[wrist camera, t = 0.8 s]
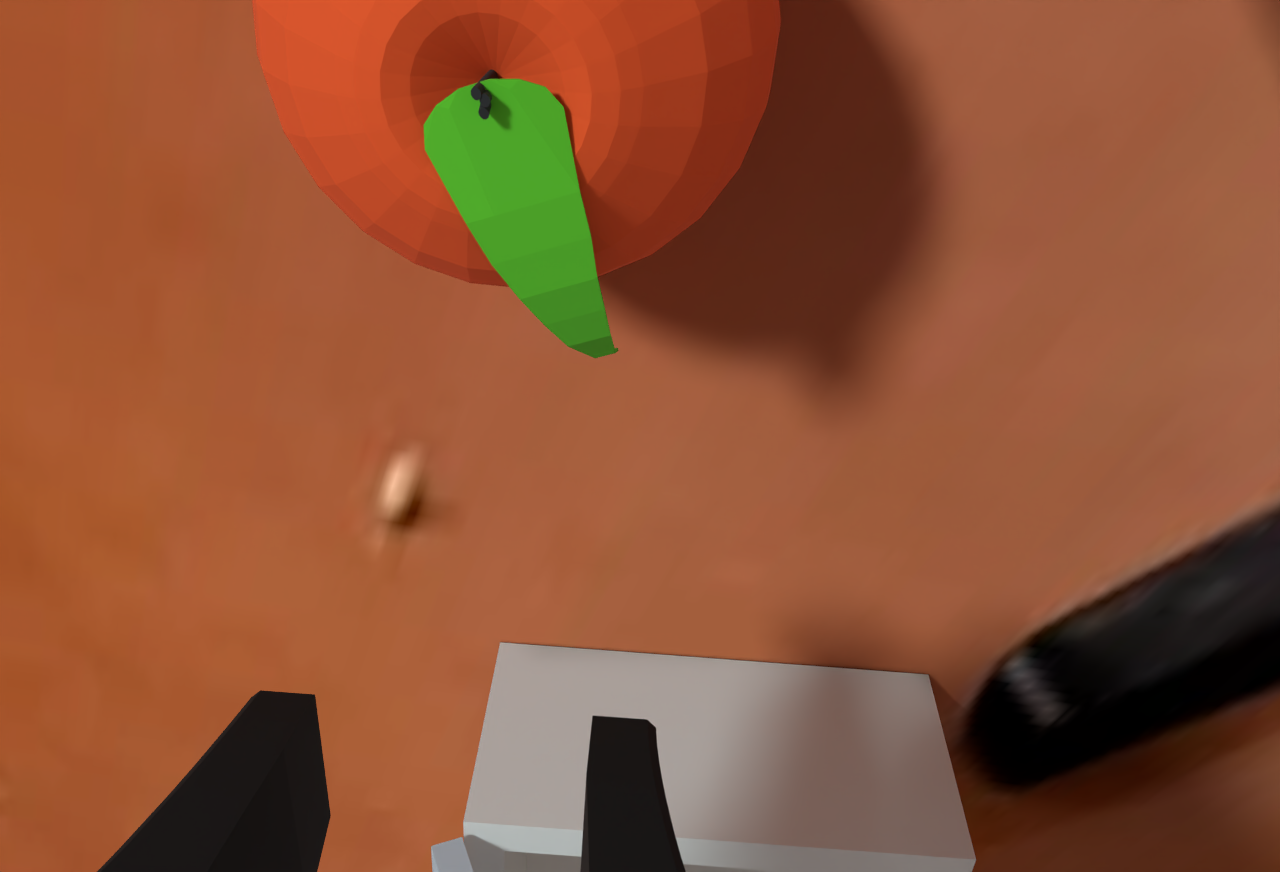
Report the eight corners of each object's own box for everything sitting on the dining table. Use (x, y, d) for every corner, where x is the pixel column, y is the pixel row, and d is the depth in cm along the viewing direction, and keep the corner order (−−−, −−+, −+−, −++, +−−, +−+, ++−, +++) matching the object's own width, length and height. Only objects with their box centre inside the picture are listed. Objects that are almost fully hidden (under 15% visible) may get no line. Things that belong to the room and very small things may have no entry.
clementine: (820, 183, 19) (881, 383, 13) (457, 284, 21) (364, 507, 15) (699, -348, 15) (708, -403, 9) (258, -180, 17) (16, -135, 11)
